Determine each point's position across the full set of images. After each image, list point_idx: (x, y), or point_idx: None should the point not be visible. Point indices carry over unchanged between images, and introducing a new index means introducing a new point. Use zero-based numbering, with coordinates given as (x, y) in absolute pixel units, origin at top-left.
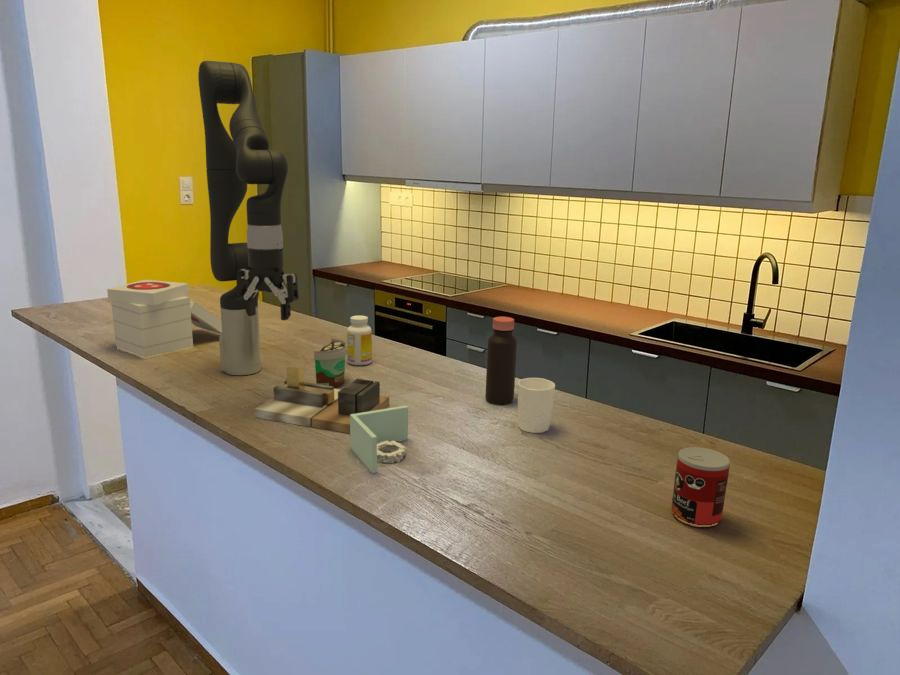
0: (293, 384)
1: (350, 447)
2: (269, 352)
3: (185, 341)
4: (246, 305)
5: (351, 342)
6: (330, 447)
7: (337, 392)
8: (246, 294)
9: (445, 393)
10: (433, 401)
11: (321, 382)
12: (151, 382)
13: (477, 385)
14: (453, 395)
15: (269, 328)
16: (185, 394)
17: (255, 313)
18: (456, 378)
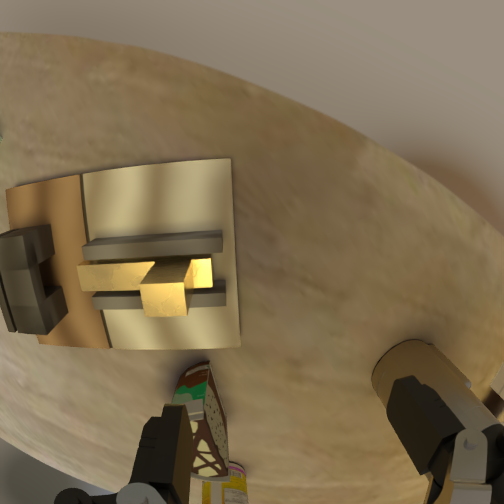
0: (169, 264)
1: (2, 138)
2: (390, 438)
3: (502, 381)
4: (445, 412)
5: (229, 494)
6: (25, 118)
7: (124, 332)
8: (477, 457)
9: (28, 399)
10: (17, 368)
11: (197, 371)
12: (499, 243)
13: (26, 429)
14: (17, 394)
15: (418, 478)
16: (438, 216)
17: (387, 415)
18: (60, 447)
